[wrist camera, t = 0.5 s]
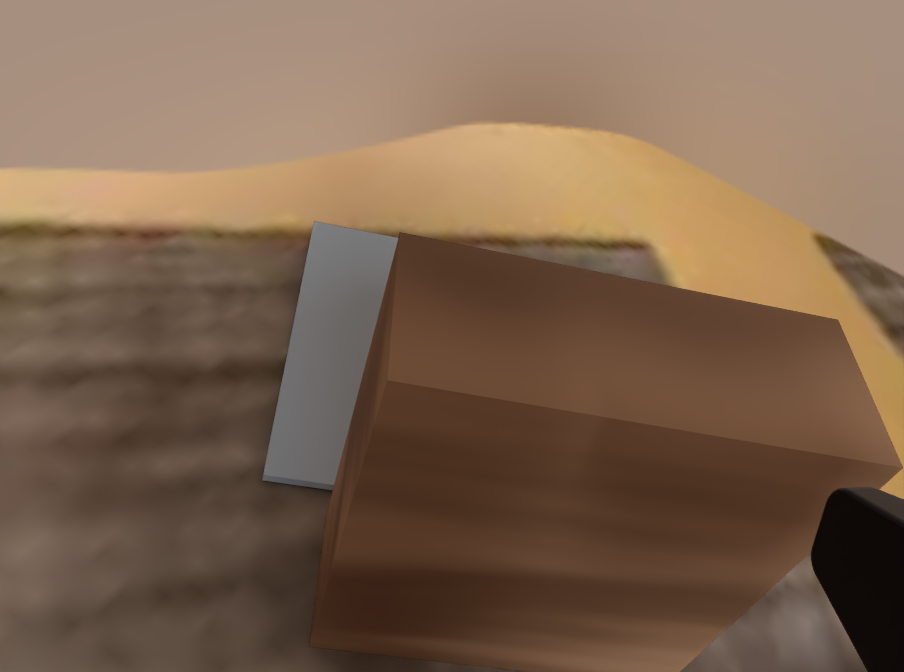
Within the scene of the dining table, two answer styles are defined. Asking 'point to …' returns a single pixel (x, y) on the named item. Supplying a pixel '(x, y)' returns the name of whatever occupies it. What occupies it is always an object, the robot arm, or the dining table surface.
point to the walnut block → (579, 465)
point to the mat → (327, 353)
